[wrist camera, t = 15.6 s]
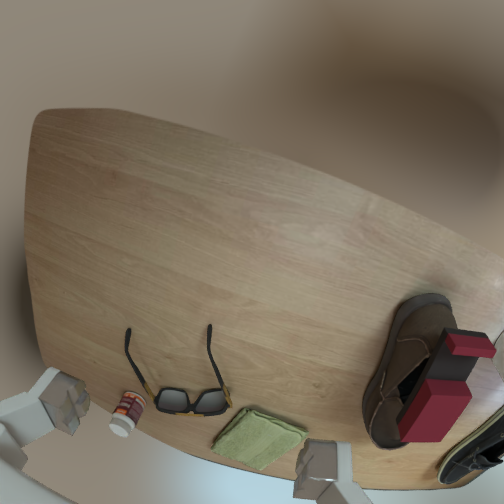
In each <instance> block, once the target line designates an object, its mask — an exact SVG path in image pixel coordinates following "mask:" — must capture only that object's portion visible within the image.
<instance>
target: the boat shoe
mask: <svg viewBox="0 0 504 504" xmlns="http://www.w3.org/2000/svg"><path fill="white" fill-rule="evenodd" d="M503 453H504V406H503V407H502V408H501V409H500V410H499V411H498V412H497V413H496V414H495V415H494V416H493V417H491V418H490V419H489V420H488V421H487V422H486V423H485V424H484V425H482V426H481V427H480V428H479V429H477V430H476V431H475V432H473V433H472V434H471V435H470V436H468V437H467V438H466V439H464V440H463V441H462V442H461V443H460V444H458V445H457V446H456V447H455V448H454V449H453V450H452V451H451V452H450V453H449V454H448V455H447V456H446V458H445V459H444V461H443V462H442V464H441V466H440V468H439V470H438V473H437V479H438V481H439V482H440V483H442V484H451V483H454V482H456V481H458V480H459V479H460V478H462V477H463V476H465V475H466V474H468V473H470V472H471V471H473V470H481V469H482V470H483V469H485V470H488V469H489V468H491V467H494V466H496V465H498V464H501V463H502V462H503V460H500V459H498V457H499V456H500V455H502V454H503Z"/></svg>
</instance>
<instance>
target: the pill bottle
mask: <svg viewBox="0 0 504 504" xmlns="http://www.w3.org/2000/svg"><path fill="white" fill-rule="evenodd" d="M145 406H146V402H145V400H144V399H143V398H142V397H141V396H140V395H139V394H137V393H134V392H126V393H125V394H124V395H123V397H122V399H121V400H120V402H119V404H118V406H117V407H116V409H115V411H114V412H113V414H112V420H111V422H110V423H109V428H110V429H111V430H112V431H113V432H114V433H115V434H117V435H119V436H122V437H127V436H128V435H129V434H130V432H131V430H133V429H134V428H135V426H136V424H137V422H138V420H139V418H140V416H141V414H142V412H143V410H144V408H145Z"/></svg>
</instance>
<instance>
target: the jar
mask: <svg viewBox="0 0 504 504" xmlns="http://www.w3.org/2000/svg"><path fill="white" fill-rule="evenodd" d="M494 347H495V348H496V350H497V352H496V353H495V355H494V357H493V358H492V362H493V364H494V366H496V368H497V370H498V372H499V374H500V376H501V378H502V380H503V381H504V331H503V333H502V334H501V335H500V337H499V338H498V340H497V341H496V343H495V345H494Z"/></svg>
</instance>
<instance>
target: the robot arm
mask: <svg viewBox="0 0 504 504" xmlns="http://www.w3.org/2000/svg"><path fill="white" fill-rule="evenodd" d="M85 388H86V384H85V382H84V381H83V380H81V379H78V378H76V377H74V376H71V375H69V374H67V373H65V372H63V371H61V370H58V369H56V368H54V367H50V368H48V369H47V370H46V371H45V372H44V374H43V375H42V376H41V377H40V379H39V380H38V381H37V382H36V383H35V385H34V386H33V387H32V388H31V390H30V391H29V392H28V393H27V392H23V393H21V394H18V395H16V396H13V397H10V398H8V399H5V400H2V401H0V504H78V503H76V502H74V501H72V500H70V499H68V498H66V497H64V496H62V495H60V494H59V493H57V492H55V491H53V490H52V489H50V488H48V487H46V486H45V485H43V484H41V483H39V482H38V481H36V480H35V479H33V478H31V477H30V476H28V475H27V474H25V473H24V472H22V471H21V470H22V468H23V467H24V465H25V464H26V462H27V460H28V458H27V455H26V454H25V453H24V452H23V450H22V449H21V448H22V447H23V446H25V445H27V444H29V443H31V442H33V441H34V440H36V439H38V438H40V437H42V436H43V435H45V434H47V433H48V432H50V431H52V430H54V429H55V428H57V429H59V430H62V431H63V432H66V433H68V434H70V435H73V434H74V432H75V431H76V429H77V428H78V426H79V424H80V420H79V418H80V417H83V416H85V415H86V413H87V411H88V409H89V406H90V396H89V394H88V393H87V391H86V390H85ZM295 472H296V474H297V475H298V477H297V479H296V480H295V482H294V492H293V498H300V499H310V500H316V502H317V504H373V503H372V502H371V500H370V499H369V498H368V497H367V495H366V494H365V492H364V491H363V490H362V489H361V487H360V486H359V485H358V483H357V482H353V473H352V451H351V444H350V442H343V441H333V440H320V439H310V438H308V439H306V441H305V442H304V448H303V449H301V450H300V452H299V455H298V458H297V462H296V470H295Z"/></svg>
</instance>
